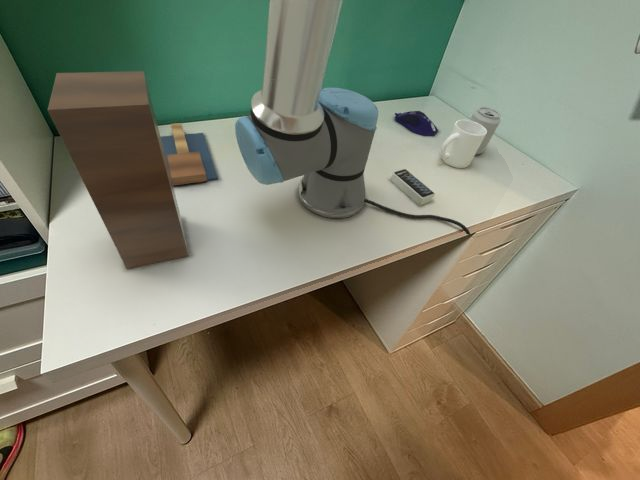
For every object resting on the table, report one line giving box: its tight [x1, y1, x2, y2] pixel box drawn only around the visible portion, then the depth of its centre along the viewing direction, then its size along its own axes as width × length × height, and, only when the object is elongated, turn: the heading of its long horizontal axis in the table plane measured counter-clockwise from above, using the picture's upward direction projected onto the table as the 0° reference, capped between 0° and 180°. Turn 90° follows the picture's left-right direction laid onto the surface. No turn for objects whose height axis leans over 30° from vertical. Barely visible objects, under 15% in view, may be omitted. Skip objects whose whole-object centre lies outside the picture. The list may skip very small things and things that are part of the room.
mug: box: [439, 119, 487, 169], centre depth 89 cm, size 12×8×10 cm
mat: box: [160, 132, 219, 187], centre depth 78 cm, size 20×12×1 cm, turn 23°
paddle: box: [167, 122, 208, 186], centre depth 78 cm, size 23×7×2 cm, turn 23°
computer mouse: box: [394, 110, 439, 137], centre depth 104 cm, size 9×15×4 cm, turn 58°
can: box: [470, 106, 502, 156], centre depth 95 cm, size 8×8×12 cm
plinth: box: [47, 70, 190, 270], centre depth 50 cm, size 10×10×28 cm
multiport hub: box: [390, 168, 436, 206], centre depth 80 cm, size 4×11×2 cm, turn 31°
